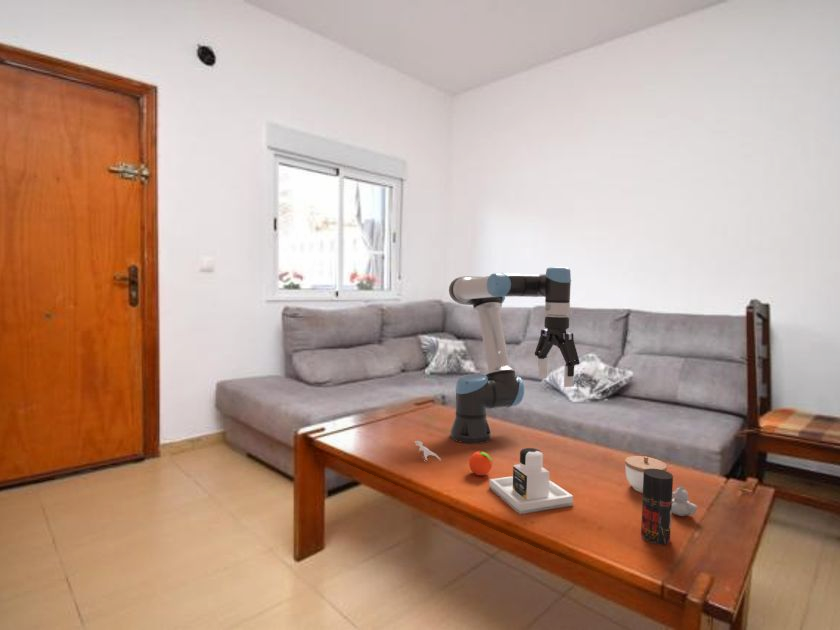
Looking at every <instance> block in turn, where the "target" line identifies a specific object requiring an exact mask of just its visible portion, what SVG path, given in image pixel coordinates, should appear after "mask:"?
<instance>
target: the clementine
mask: <svg viewBox="0 0 840 630" xmlns="http://www.w3.org/2000/svg"><path fill="white" fill-rule="evenodd" d="M492 465H493V460H492V458H491V456H490V455H489V454H488V453H487V452H485V451H480V450H479V451H475V452H474V453H472V455H471V456H470V458H469V460H468V466H469V468H470V470H471V472H473V474H475V475H477V476H485V475H487V474H489V472H490V471H491V469H492V467H493V466H492Z"/></svg>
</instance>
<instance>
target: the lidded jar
mask: <svg viewBox="0 0 840 630" xmlns="http://www.w3.org/2000/svg"><path fill="white" fill-rule="evenodd" d="M624 464H625V465H624V466H625V467H624V468H625V469H624V470H625V477H626V479H627V482H628V483H629V484H630V485H631V487H632V488H633V490H635V491H637V492H638V493H642V494H643V475H644V470H645V469H660V470H664V471H667V472H668V465H667V464H666V463H665V462H663V461H662V460H660V459H656V458H654V457H649V456H643V455H642V456H641V455H631V456H627V457H626V458H625V459H624Z"/></svg>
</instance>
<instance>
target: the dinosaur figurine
mask: <svg viewBox="0 0 840 630" xmlns="http://www.w3.org/2000/svg"><path fill="white" fill-rule="evenodd" d="M414 444H415V446H418V447H419V449H418V453H420V452H423V457H425V458H424V460H427V461H428V458H427V457H428V456H433V457H436V458H437V459H438V460H439V461H440V462H441V461H442V459H441V457H439V455H437V453H435V452H433V451H431V450H430V449H429V448H428V447H427V446H424V445H423V442H422V441H420V440H415V441H414Z"/></svg>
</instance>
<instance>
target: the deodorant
mask: <svg viewBox="0 0 840 630" xmlns="http://www.w3.org/2000/svg"><path fill="white" fill-rule="evenodd" d="M673 484H674V475H673V474H672V473H671V472H669V471H668V470H667V471H664V470H660V469H645V470H644V475H643V493H642V497H641V498H642V500H641V501H642V503H641V523H640V524H641V526H640V535H641V538H642V539H643V540H644V541H646V542H648V543H651V544H654V545H659V546H663V545H664V546H665V545H669V543H670V542H671V529H672V528H671V526H672V512H671V509H672V499H673V494H672V493H673V489H674V488H673V486H674V485H673Z"/></svg>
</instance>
